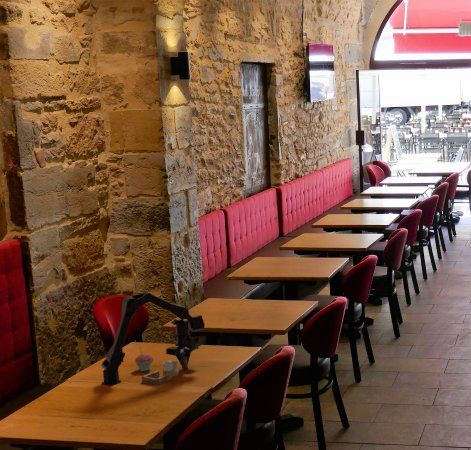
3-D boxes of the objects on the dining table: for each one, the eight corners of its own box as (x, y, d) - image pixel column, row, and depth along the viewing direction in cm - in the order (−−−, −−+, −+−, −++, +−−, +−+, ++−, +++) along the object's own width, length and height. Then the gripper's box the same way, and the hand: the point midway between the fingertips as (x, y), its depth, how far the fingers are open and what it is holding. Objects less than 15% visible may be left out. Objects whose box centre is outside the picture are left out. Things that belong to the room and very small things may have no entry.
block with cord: (171, 377, 396) (170, 364, 395) (163, 375, 399) (162, 363, 398) (190, 369, 407) (190, 356, 406) (182, 367, 410) (182, 355, 409)
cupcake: (132, 371, 409) (130, 346, 407) (142, 366, 416) (140, 341, 415) (147, 373, 405) (145, 348, 403) (157, 367, 412) (155, 343, 411)
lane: (157, 385, 386) (157, 379, 386) (142, 382, 392) (141, 376, 391) (172, 378, 394) (172, 373, 394) (157, 375, 400) (157, 370, 399)
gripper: (182, 339, 393) (184, 372, 395) (208, 329, 408) (210, 362, 410) (164, 336, 400) (166, 369, 402) (190, 327, 414) (192, 358, 416)
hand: (184, 364), depth 407 cm, fingers closed on block with cord, 3 cm apart
